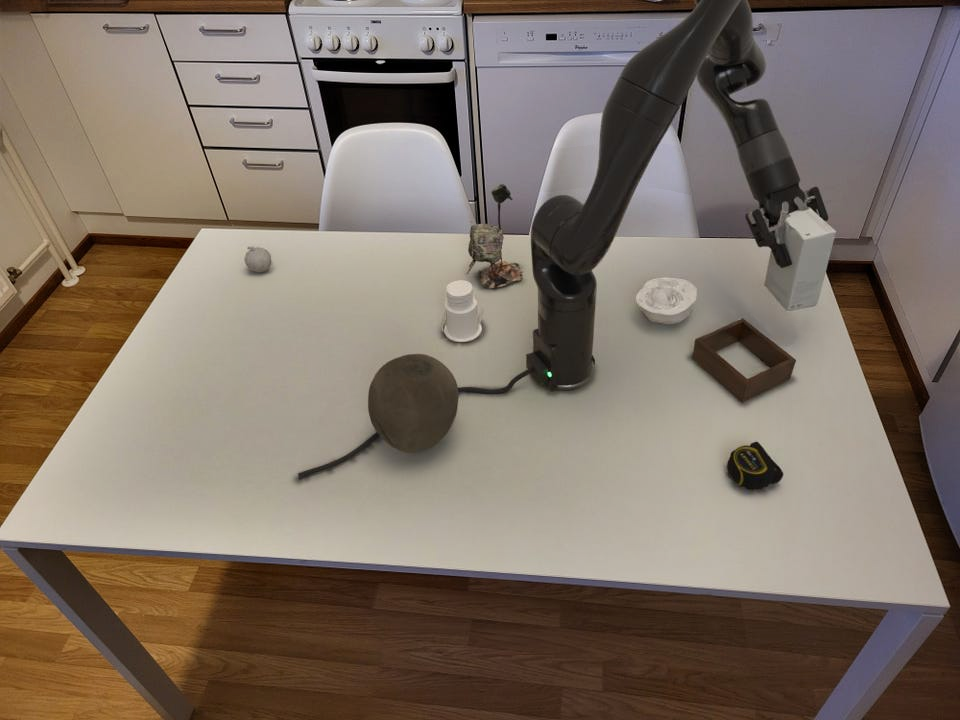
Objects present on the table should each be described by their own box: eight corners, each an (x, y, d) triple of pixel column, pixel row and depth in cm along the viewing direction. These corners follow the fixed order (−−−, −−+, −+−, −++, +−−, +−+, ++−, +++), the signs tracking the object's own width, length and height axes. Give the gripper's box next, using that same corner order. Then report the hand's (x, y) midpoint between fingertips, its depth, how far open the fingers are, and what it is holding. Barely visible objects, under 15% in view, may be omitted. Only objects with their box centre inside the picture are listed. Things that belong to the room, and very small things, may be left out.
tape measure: (781, 486, 114) (787, 470, 111) (740, 499, 113) (745, 484, 110) (756, 453, 119) (761, 437, 116) (716, 465, 117) (720, 449, 115)
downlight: (477, 314, 147) (474, 271, 140) (489, 337, 142) (487, 294, 135) (437, 324, 145) (432, 282, 138) (448, 347, 140) (443, 305, 133)
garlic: (241, 268, 161) (235, 247, 158) (264, 257, 164) (258, 236, 160) (256, 280, 158) (250, 259, 155) (279, 268, 161) (273, 248, 157)
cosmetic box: (817, 306, 130) (841, 233, 120) (784, 313, 129) (805, 239, 119) (791, 277, 136) (812, 204, 126) (760, 283, 135) (778, 211, 125)
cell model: (707, 316, 143) (713, 287, 138) (659, 342, 138) (664, 313, 133) (668, 289, 149) (672, 260, 144) (621, 314, 144) (624, 285, 140)
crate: (741, 403, 126) (747, 383, 123) (691, 358, 135) (695, 339, 132) (790, 379, 130) (796, 359, 127) (738, 337, 138) (742, 317, 135)
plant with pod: (468, 265, 158) (461, 179, 144) (523, 264, 157) (521, 177, 143) (466, 290, 152) (458, 202, 138) (523, 289, 151) (521, 201, 138)
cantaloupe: (468, 460, 121) (462, 394, 110) (378, 475, 119) (363, 409, 109) (455, 397, 131) (448, 330, 121) (372, 410, 130) (358, 344, 119)
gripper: (748, 169, 120) (786, 268, 120) (816, 144, 124) (853, 240, 125) (719, 184, 127) (755, 278, 128) (785, 160, 132) (820, 250, 132)
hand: (804, 259), depth 126 cm, fingers closed on cosmetic box, 7 cm apart
